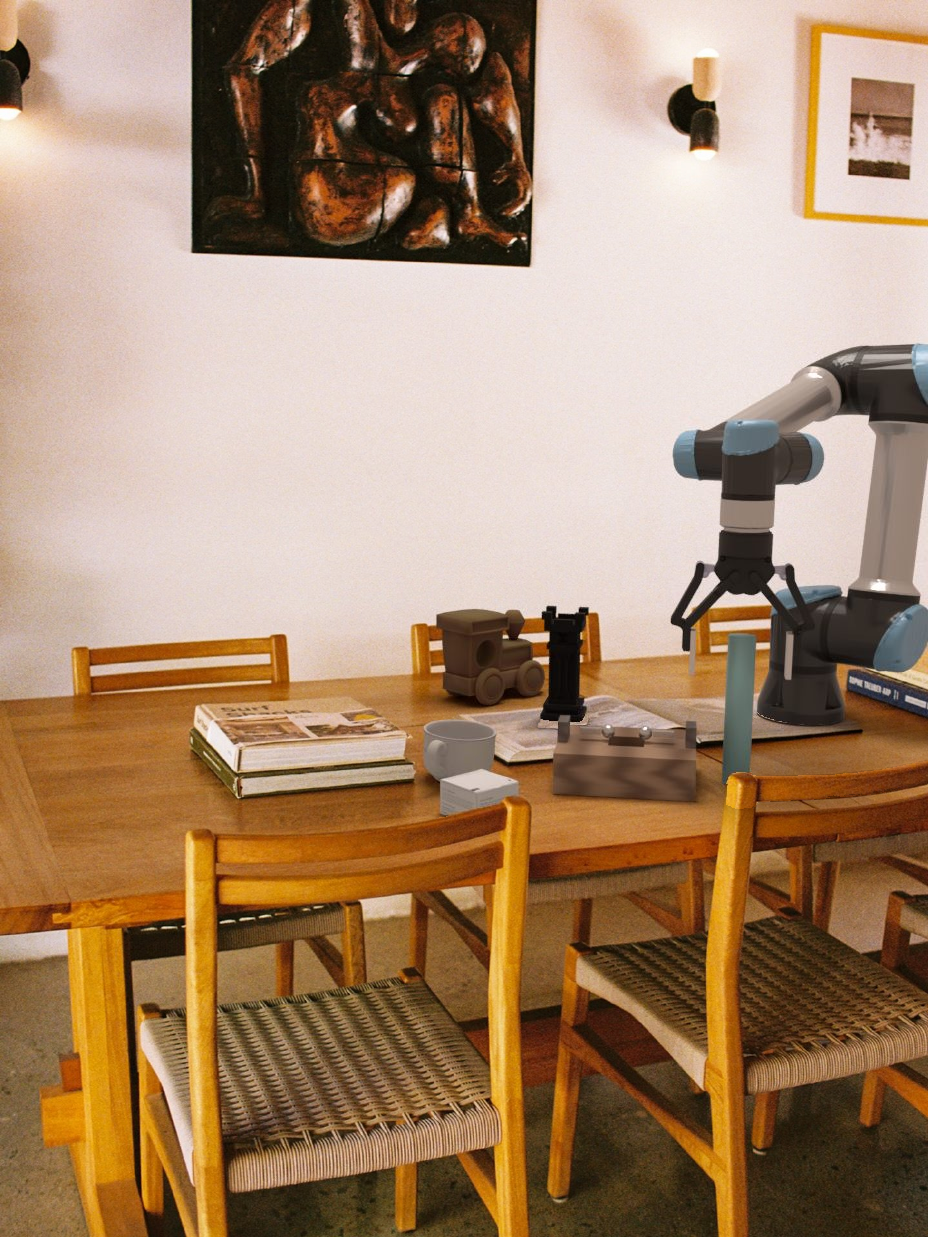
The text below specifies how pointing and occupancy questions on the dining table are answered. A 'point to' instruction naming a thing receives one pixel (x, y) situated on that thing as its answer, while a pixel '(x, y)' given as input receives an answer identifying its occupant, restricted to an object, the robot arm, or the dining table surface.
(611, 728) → the plunger
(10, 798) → the dining table surface
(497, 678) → the wooden toy train
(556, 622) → the chess piece
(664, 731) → the plunger
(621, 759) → the walnut socket block
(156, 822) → the dining table surface
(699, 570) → the robot arm
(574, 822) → the dining table surface
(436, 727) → the teacup
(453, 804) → the small box
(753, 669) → the teal peg
